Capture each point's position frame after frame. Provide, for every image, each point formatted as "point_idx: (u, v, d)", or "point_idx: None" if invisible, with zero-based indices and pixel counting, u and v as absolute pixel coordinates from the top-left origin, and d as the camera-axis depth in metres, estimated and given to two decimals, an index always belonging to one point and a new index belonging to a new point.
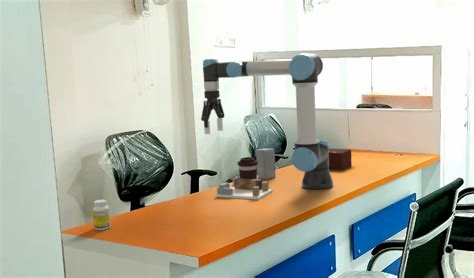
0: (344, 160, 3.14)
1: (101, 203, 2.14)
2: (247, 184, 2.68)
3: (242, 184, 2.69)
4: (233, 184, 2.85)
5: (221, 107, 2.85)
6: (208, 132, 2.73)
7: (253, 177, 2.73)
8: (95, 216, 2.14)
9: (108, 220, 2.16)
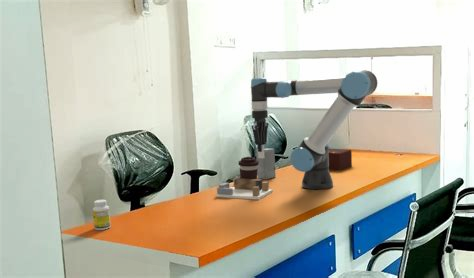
0: (342, 160, 3.13)
1: (101, 203, 2.14)
2: (247, 184, 2.68)
3: (242, 184, 2.69)
4: None
5: (266, 131, 2.73)
6: (262, 156, 2.71)
7: (253, 177, 2.73)
8: (95, 216, 2.14)
9: (108, 220, 2.16)
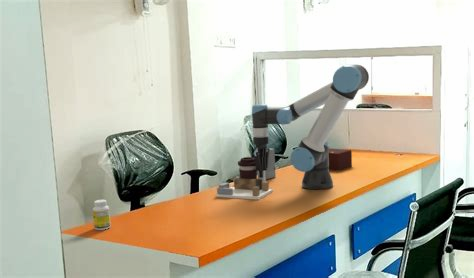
0: (341, 161, 3.12)
1: (101, 203, 2.14)
2: (247, 184, 2.68)
3: (242, 184, 2.69)
4: None
5: (267, 157, 2.75)
6: None
7: (252, 177, 2.73)
8: (95, 216, 2.14)
9: (108, 220, 2.16)
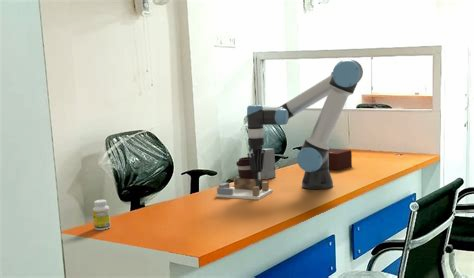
0: (340, 161, 3.12)
1: (101, 203, 2.14)
2: (247, 184, 2.68)
3: (242, 184, 2.69)
4: None
5: (262, 158, 2.71)
6: None
7: (251, 177, 2.73)
8: (95, 216, 2.14)
9: (108, 220, 2.16)
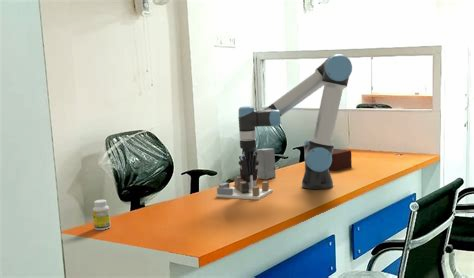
0: (339, 161, 3.12)
1: (101, 203, 2.14)
2: (238, 185, 2.66)
3: (237, 185, 2.68)
4: None
5: (255, 161, 2.65)
6: (250, 187, 2.63)
7: None
8: (95, 216, 2.14)
9: (108, 220, 2.16)
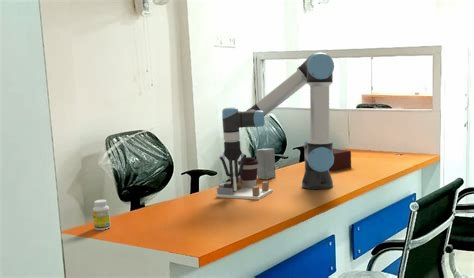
0: (337, 161, 3.11)
1: (101, 203, 2.14)
2: None
3: None
4: None
5: (242, 164, 2.60)
6: (233, 188, 2.61)
7: (251, 177, 2.73)
8: (95, 216, 2.14)
9: (108, 220, 2.16)
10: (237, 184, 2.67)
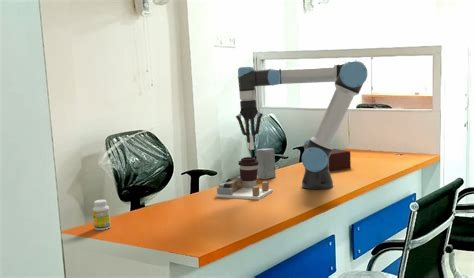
0: (335, 161, 3.11)
1: (101, 203, 2.14)
2: None
3: None
4: None
5: (258, 122, 2.62)
6: (250, 147, 2.63)
7: (251, 177, 2.72)
8: (95, 216, 2.14)
9: (108, 220, 2.16)
10: (237, 184, 2.67)
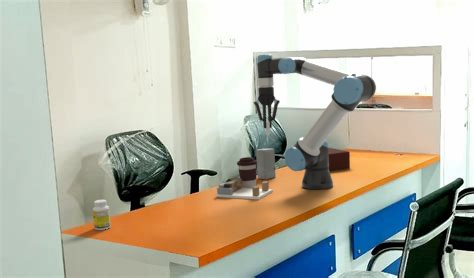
0: (333, 161, 3.11)
1: (101, 203, 2.14)
2: None
3: None
4: None
5: (275, 109, 2.71)
6: (266, 133, 2.72)
7: (250, 177, 2.73)
8: (95, 216, 2.14)
9: (108, 220, 2.16)
10: (237, 184, 2.67)
